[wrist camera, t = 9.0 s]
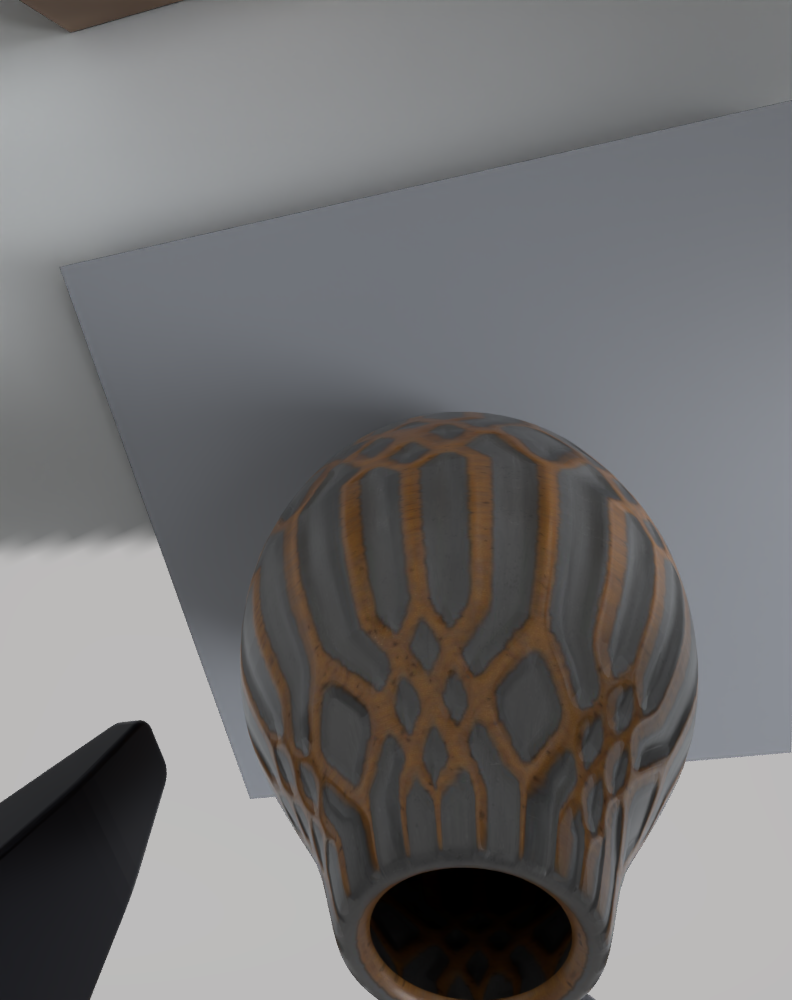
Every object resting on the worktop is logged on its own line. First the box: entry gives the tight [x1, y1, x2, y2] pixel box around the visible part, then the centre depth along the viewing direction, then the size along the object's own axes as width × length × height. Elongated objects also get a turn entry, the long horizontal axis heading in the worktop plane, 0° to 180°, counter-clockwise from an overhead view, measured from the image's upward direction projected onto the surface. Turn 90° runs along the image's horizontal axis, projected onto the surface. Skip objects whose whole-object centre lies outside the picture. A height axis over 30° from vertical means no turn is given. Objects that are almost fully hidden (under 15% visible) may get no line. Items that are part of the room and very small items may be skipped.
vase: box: [240, 412, 698, 1000], centre depth 9 cm, size 7×7×9 cm
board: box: [60, 100, 792, 799], centre depth 14 cm, size 14×14×2 cm
